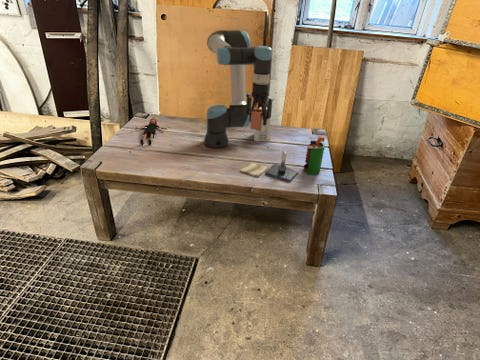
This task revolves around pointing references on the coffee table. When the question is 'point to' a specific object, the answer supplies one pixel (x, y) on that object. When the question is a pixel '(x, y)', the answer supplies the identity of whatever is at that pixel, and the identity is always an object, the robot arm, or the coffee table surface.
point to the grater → (265, 132)
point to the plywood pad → (254, 169)
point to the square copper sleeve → (256, 119)
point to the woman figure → (150, 130)
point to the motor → (314, 156)
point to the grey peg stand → (282, 170)
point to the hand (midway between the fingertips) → (257, 129)
